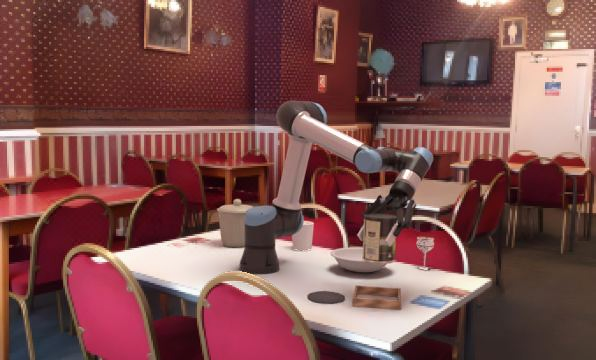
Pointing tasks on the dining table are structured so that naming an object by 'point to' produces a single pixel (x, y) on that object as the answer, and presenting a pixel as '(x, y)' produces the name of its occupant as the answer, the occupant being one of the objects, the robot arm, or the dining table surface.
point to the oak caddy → (377, 302)
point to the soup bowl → (354, 260)
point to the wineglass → (425, 245)
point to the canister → (233, 223)
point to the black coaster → (326, 297)
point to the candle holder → (303, 237)
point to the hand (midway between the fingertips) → (373, 240)
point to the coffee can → (378, 238)
